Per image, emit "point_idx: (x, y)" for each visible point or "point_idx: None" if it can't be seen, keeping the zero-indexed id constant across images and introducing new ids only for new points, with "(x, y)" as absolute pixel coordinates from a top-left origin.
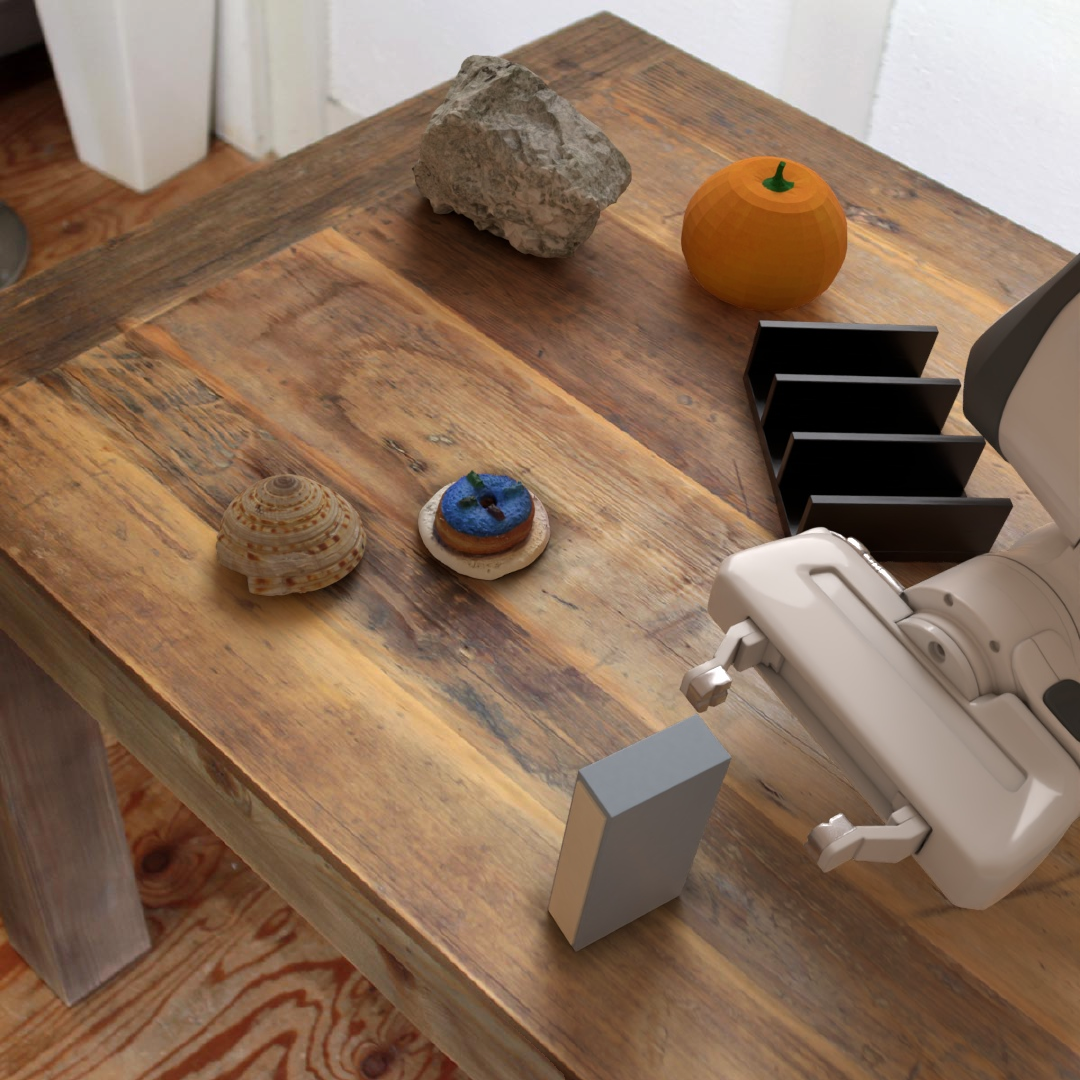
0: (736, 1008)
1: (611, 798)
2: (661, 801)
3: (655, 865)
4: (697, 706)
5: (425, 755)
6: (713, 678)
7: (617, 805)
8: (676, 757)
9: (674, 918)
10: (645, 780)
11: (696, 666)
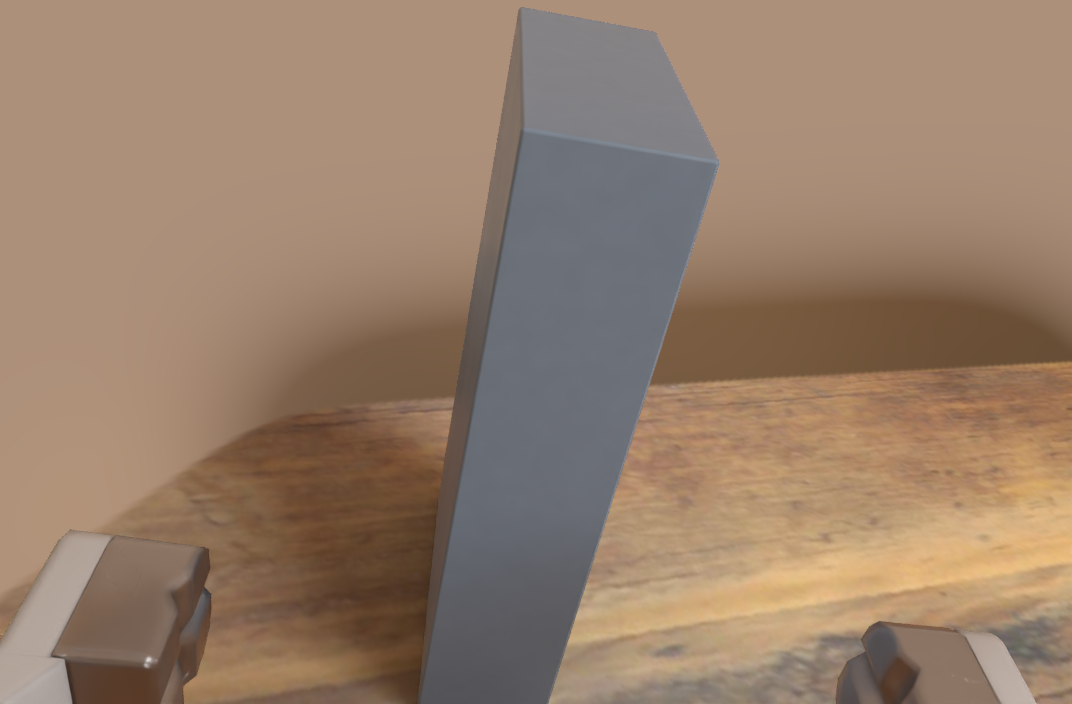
0: None
1: (562, 20)
2: (511, 94)
3: (457, 430)
4: (853, 665)
5: (891, 525)
6: (952, 682)
7: (540, 16)
8: (597, 87)
9: (380, 670)
10: (569, 47)
11: (1016, 668)
